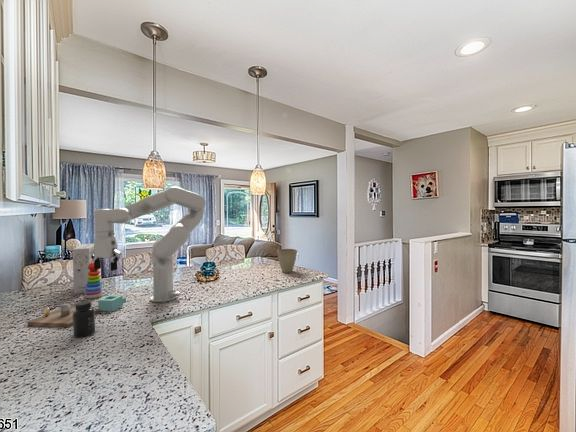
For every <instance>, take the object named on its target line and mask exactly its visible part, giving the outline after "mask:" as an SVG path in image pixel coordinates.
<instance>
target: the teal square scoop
mask: <svg viewBox="0 0 576 432" xmlns="http://www.w3.org/2000/svg"><path fill="white" fill-rule="evenodd" d="M126 298H127V297H123V295H115V294H113V295H109V294H108V295H107V296H105V297H102V298H100V299H98V300H97V305H98V307H97V309H99V312H104V311H105V312H114V311H115V310H118V309H120V308H122V307H123V305H124V303H126V302H127V299H126Z"/></svg>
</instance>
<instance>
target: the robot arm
mask: <svg viewBox="0 0 576 432" xmlns="http://www.w3.org/2000/svg"><path fill="white" fill-rule="evenodd" d="M173 205H177V206H181V207H184V208H187V209H188V210H187V212H186V213H185V214H184V215H183V216H182V218H181V219H179V220H178V221H177V222H176V223H175V224H174V225H172V226H171V228H169V230H168V232H167V233H166V234H165V235H164V236H162V238H158V239H156V240H155V241H154V243H153V244H152V284H153V286H152V292H153V293H152V294H153V295H152V296H151V297H149V301H150V302H152V303H166V302H170V301H173V300H175V299H176V298H177V297H180V295H181V292H180V291H176V288H174V256H173V255H174V254H175V253H177V252H178V250H179V249H181V248H182V247H183V246H184V245H185V243H186V242H187V241H188V240H189V238H190V235H191V234H190V233H192V231H194V229H195V228H197V227H198V225H199V224H200V223H201V222H202V220H203V217H204V215H205V214H204V213H205V209H204V208H205V207H206V198H205V197H204V196H203V195H201V194H198V193H197V192H194V191H193V192H192V191H190V190H187V189H184V188H182V187H179V186H171V187H169V188H166V189H164V190H161V191H159V192H156V193H153V194H151V195H149V196H146V197H144V198H142V199H141V200H139V201H137V202H135V203H134V202H133V203H131V204H129V205H126V206H123V207H119V208H97V209H95V210H94V211H93V214H94V238H93V239H94V240H93V244H94V250H92V251H91V252H90V255H91V258H92V259H93V261H94V270H97V269H98V270H100V269H102V260H101V259H109V260H110V271H113V272H114V271H116V270H118V261H119V260H120V258H121V255H122V253H121V251H119V249H118V243H117V237H115V236H114V235H115V232H114V227H115V226H114V224H119V225H121V224H122V225H123V224H126V223H128V222H130V221H133V220H135V219H138V218H140V217H144V216H146V215H148V214H149V215H150V214H153V213H156V212H158V211H161V210H163V209H166V208H168V207H170V206H171V207H172V206H173Z"/></svg>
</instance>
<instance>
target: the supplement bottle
mask: <svg viewBox="0 0 576 432" xmlns="http://www.w3.org/2000/svg"><path fill="white" fill-rule="evenodd" d="M74 305H75V307H74V308H75V309H76V311H75V312H74V313H73V325H72V331H73V336H74V337H75V338H85V337H89V336H91V335H93V334H94V333H95V332H96V314H95V311H94V309H95V308H94V307H92V302H91V301H90V300H84V301H79V302H77V303H75V304H74Z"/></svg>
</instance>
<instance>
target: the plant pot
mask: <svg viewBox="0 0 576 432" xmlns="http://www.w3.org/2000/svg"><path fill="white" fill-rule="evenodd" d="M276 251H277V252H276V253H277V258H278V262H279V266H280V269H281V272H282V273H292V272H293V270H294V267H295V264H296V259H297V256H298V255H297V254H298V249H295V248H294V249H293V248H278V249H277V250H276Z"/></svg>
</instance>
